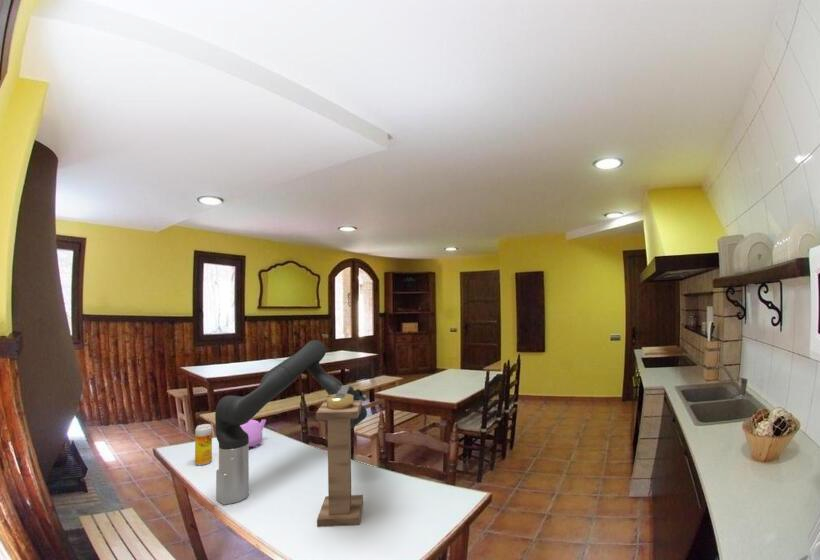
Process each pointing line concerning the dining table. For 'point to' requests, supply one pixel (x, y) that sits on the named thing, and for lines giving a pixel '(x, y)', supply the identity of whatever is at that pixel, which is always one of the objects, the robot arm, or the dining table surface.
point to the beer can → (203, 444)
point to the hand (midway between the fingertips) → (344, 388)
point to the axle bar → (340, 399)
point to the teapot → (254, 431)
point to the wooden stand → (339, 469)
